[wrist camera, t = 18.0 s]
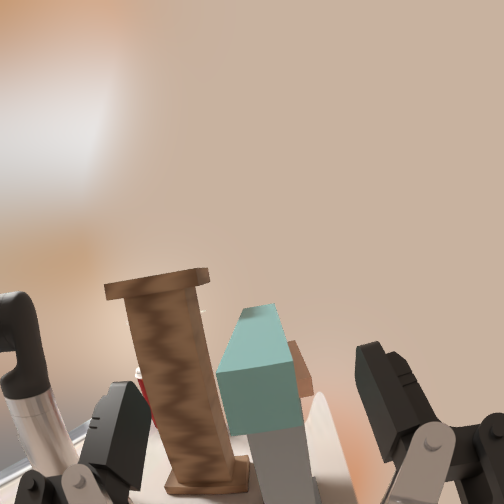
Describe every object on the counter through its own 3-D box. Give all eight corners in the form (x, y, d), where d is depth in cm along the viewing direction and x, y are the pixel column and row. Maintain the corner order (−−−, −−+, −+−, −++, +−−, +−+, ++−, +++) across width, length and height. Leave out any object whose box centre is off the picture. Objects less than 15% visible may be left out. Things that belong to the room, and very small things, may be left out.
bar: (231, 436, 15) (215, 372, 15) (248, 338, 39) (243, 308, 39) (303, 425, 15) (293, 360, 15) (279, 333, 39) (274, 303, 39)
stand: (167, 493, 33) (103, 284, 35) (179, 466, 41) (129, 281, 43) (247, 492, 33) (195, 268, 34) (249, 462, 41) (207, 267, 42)
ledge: (265, 549, 21) (220, 391, 22) (265, 490, 33) (233, 350, 34) (329, 540, 21) (311, 377, 22) (315, 482, 33) (294, 340, 34)
